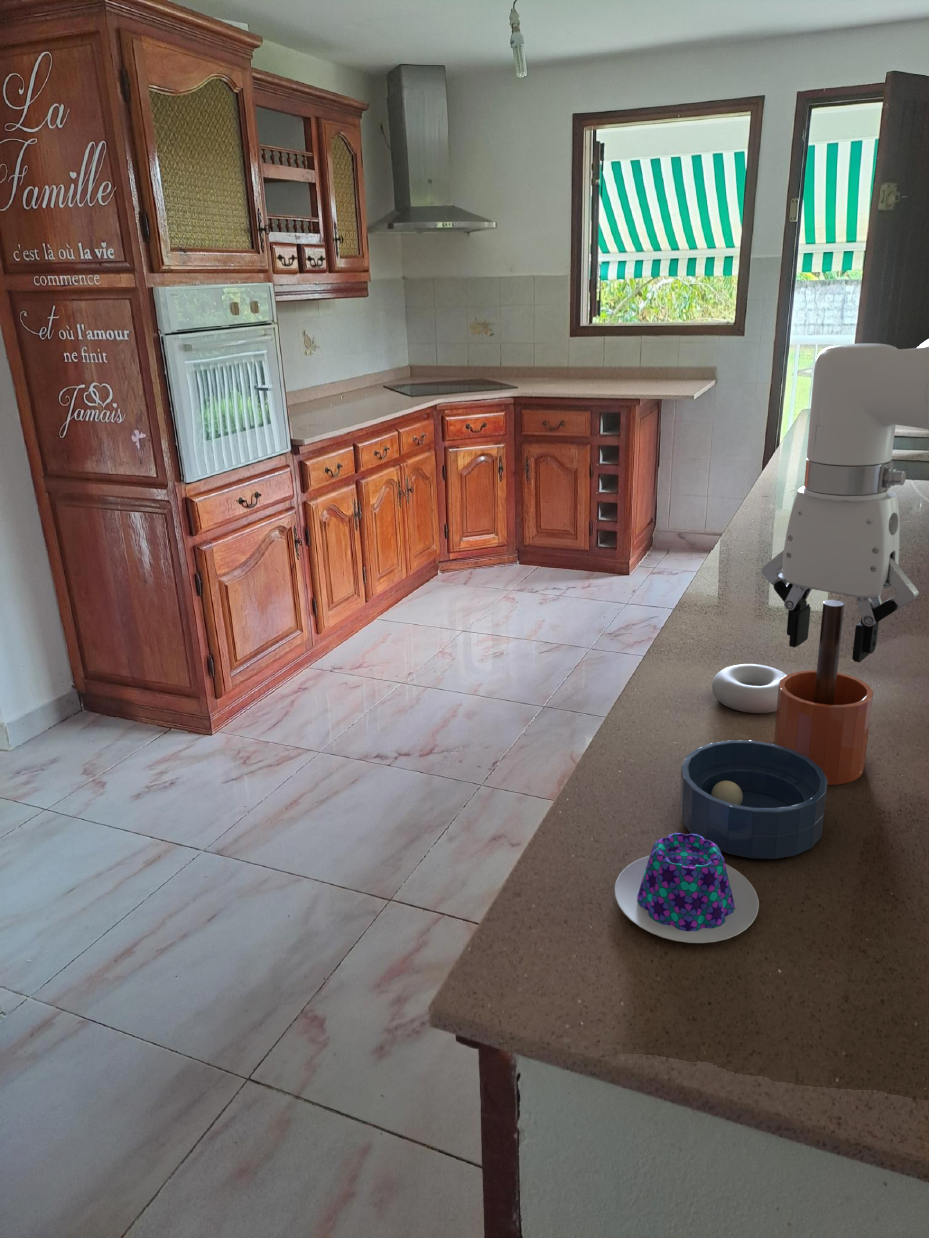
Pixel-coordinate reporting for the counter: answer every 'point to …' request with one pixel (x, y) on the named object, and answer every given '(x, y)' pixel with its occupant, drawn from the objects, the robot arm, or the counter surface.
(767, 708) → the donut
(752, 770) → the bowl
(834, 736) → the crock
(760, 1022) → the counter surface
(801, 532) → the robot arm
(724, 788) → the dough ball
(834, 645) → the stick
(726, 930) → the pudding
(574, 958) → the counter surface
